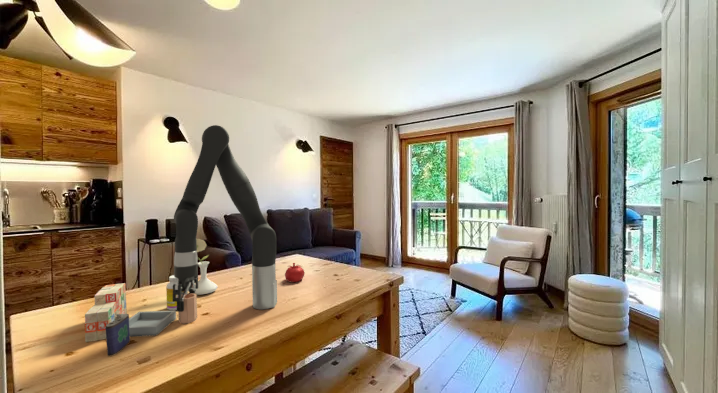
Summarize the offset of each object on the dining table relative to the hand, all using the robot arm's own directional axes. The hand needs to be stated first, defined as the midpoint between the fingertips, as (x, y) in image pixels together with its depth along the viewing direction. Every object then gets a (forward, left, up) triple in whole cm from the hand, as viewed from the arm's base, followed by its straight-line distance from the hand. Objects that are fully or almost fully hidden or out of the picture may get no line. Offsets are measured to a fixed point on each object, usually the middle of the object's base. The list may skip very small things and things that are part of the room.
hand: (186, 306), depth 116 cm
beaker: (-1, 0, -5) cm, 5 cm away
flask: (+11, +19, -5) cm, 22 cm away
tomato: (-34, -44, -5) cm, 56 cm away
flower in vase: (+6, -29, -5) cm, 30 cm away
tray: (+11, +5, -5) cm, 13 cm away
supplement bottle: (+9, -12, -5) cm, 16 cm away
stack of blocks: (+25, +3, -5) cm, 26 cm away
